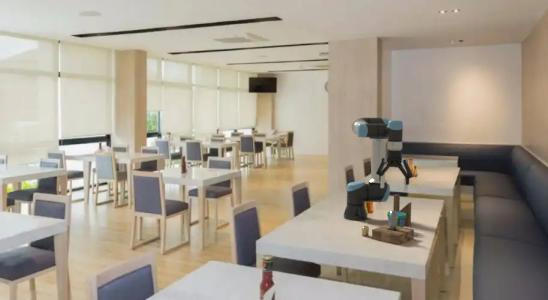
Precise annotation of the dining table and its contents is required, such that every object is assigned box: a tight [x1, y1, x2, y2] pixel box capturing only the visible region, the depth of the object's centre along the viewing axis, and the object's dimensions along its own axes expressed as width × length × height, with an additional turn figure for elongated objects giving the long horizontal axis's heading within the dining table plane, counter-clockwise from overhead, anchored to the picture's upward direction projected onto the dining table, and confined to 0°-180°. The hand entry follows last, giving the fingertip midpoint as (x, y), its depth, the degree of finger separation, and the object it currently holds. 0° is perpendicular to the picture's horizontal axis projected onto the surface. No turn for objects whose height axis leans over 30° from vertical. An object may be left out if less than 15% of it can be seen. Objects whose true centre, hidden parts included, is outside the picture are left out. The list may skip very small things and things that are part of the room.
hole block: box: [371, 224, 415, 246], centre depth 240 cm, size 16×16×5 cm
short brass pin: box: [361, 225, 370, 238], centre depth 246 cm, size 4×4×5 cm
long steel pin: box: [389, 210, 397, 231], centre depth 240 cm, size 4×4×15 cm
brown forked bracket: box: [392, 193, 412, 227], centre depth 272 cm, size 4×11×18 cm, turn 49°
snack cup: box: [386, 211, 406, 228], centre depth 257 cm, size 16×10×10 cm
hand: (393, 189), depth 239 cm, fingers open, 13 cm apart
